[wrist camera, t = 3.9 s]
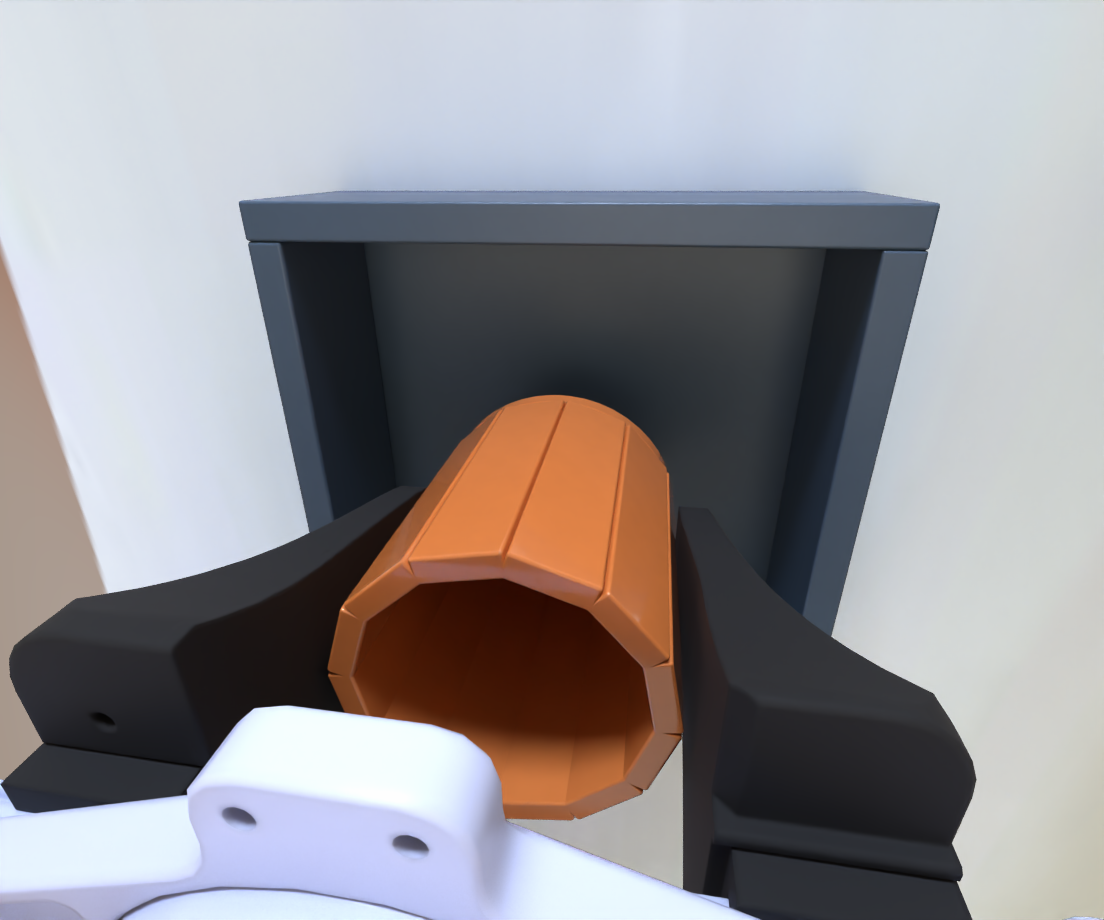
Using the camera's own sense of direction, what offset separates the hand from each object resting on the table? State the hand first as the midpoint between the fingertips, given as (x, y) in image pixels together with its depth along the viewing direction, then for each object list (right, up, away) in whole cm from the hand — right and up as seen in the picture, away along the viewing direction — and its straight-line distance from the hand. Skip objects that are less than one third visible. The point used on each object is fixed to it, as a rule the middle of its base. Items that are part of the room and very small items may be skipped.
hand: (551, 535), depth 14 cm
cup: (0, +1, +1) cm, 2 cm away
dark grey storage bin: (+1, +3, +5) cm, 6 cm away
